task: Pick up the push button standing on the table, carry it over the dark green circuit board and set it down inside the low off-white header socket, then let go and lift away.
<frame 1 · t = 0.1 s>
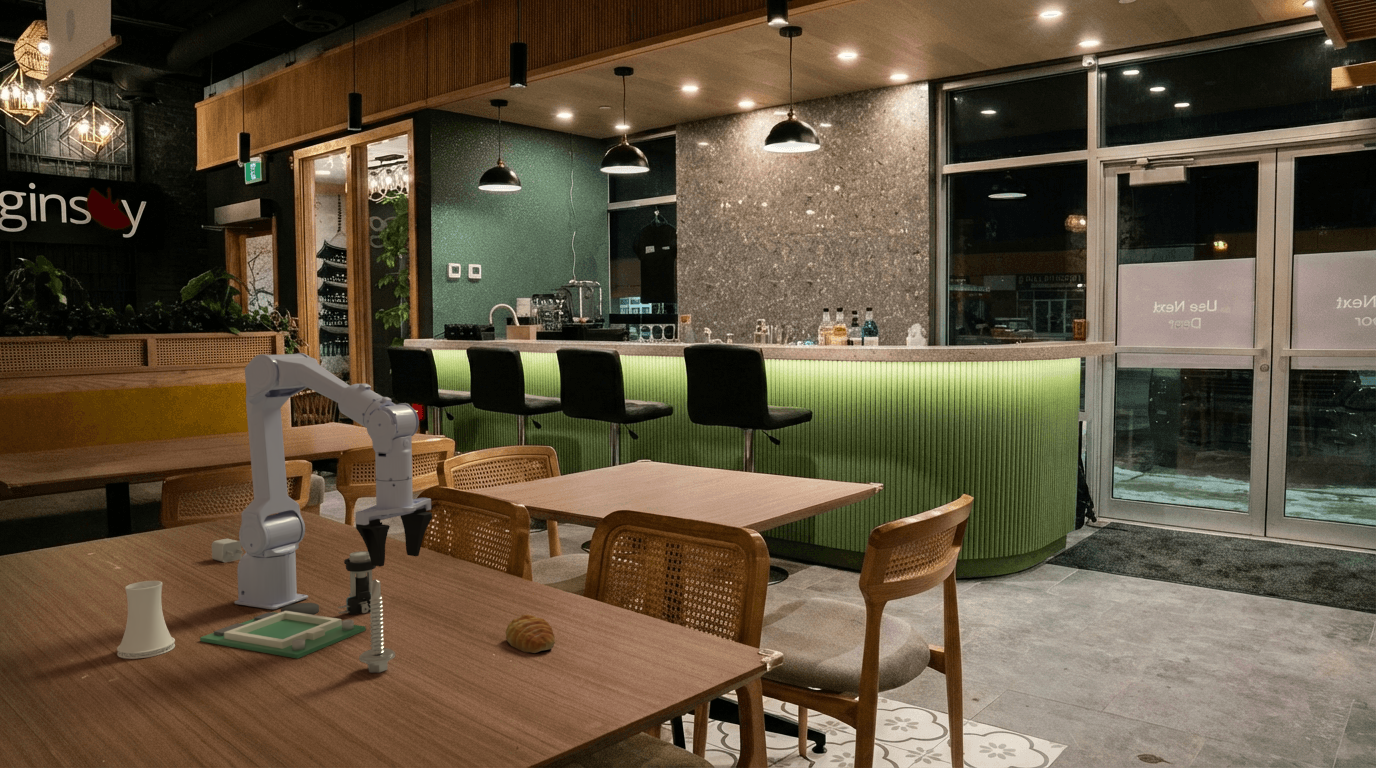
hand: (395, 560, 154), 10 cm above the table, tool pointing down, fingers open, 7 cm apart
circuit board: (284, 635, 147), on the table
pastry: (532, 645, 144), on the table
dark gray round disc: (300, 614, 159), on the table
screw: (377, 671, 132), on the table
usb wall charger: (230, 561, 196), on the table
cooling tower: (146, 651, 141), on the table
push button: (358, 613, 160), on the table
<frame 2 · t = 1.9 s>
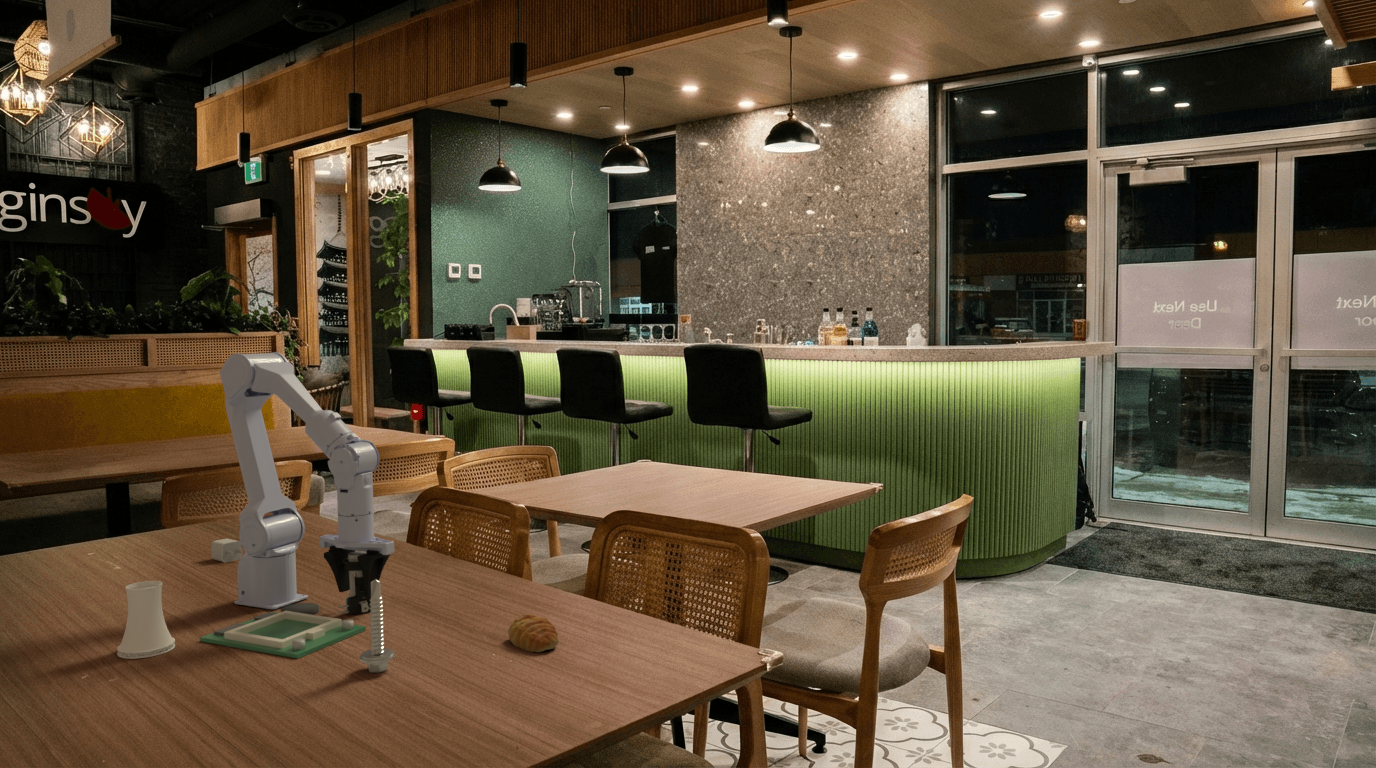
hand: (357, 592, 159), 3 cm above the table, tool pointing down, fingers closed on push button, 5 cm apart
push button: (358, 613, 160), on the table, touching gripper
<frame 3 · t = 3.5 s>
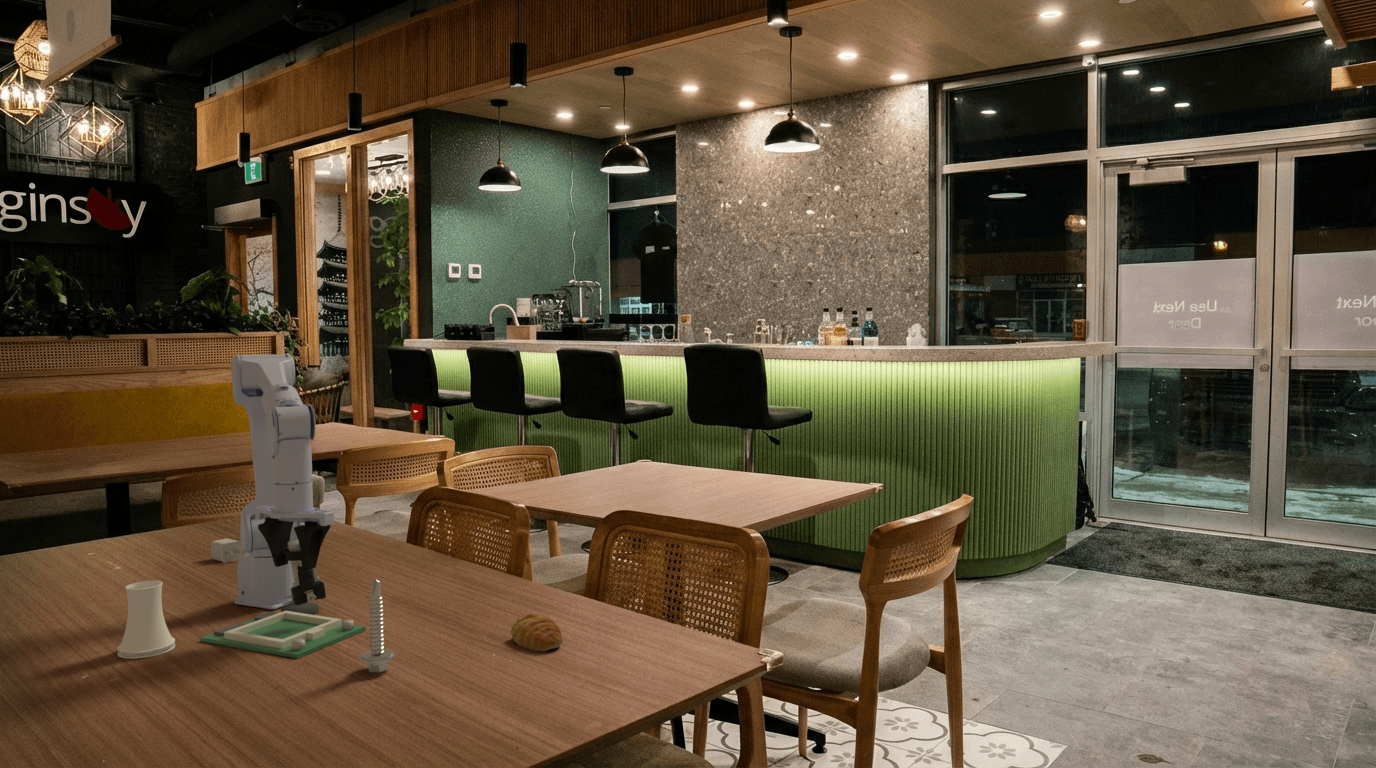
hand: (295, 567, 149), 10 cm above the table, tool pointing down, fingers closed on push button, 5 cm apart
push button: (305, 602, 151), point 4 cm above the table, touching gripper
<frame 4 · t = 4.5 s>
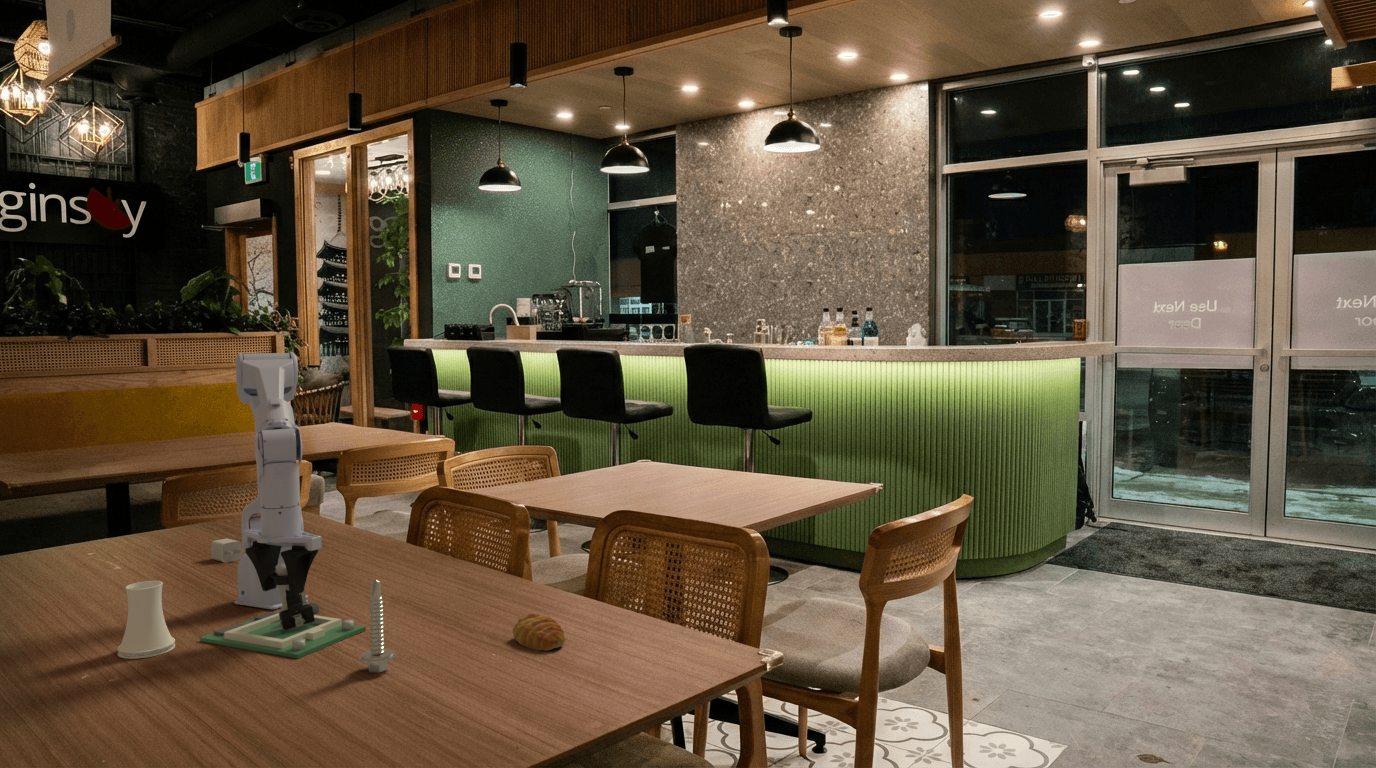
hand: (283, 591, 147), 7 cm above the table, tool pointing down, fingers closed on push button, 5 cm apart
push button: (293, 626, 149), point 1 cm above the table, touching circuit board, gripper
when the fingers open (5 cm above the table, at t = 5.4 s): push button stays where it is, resting on circuit board.
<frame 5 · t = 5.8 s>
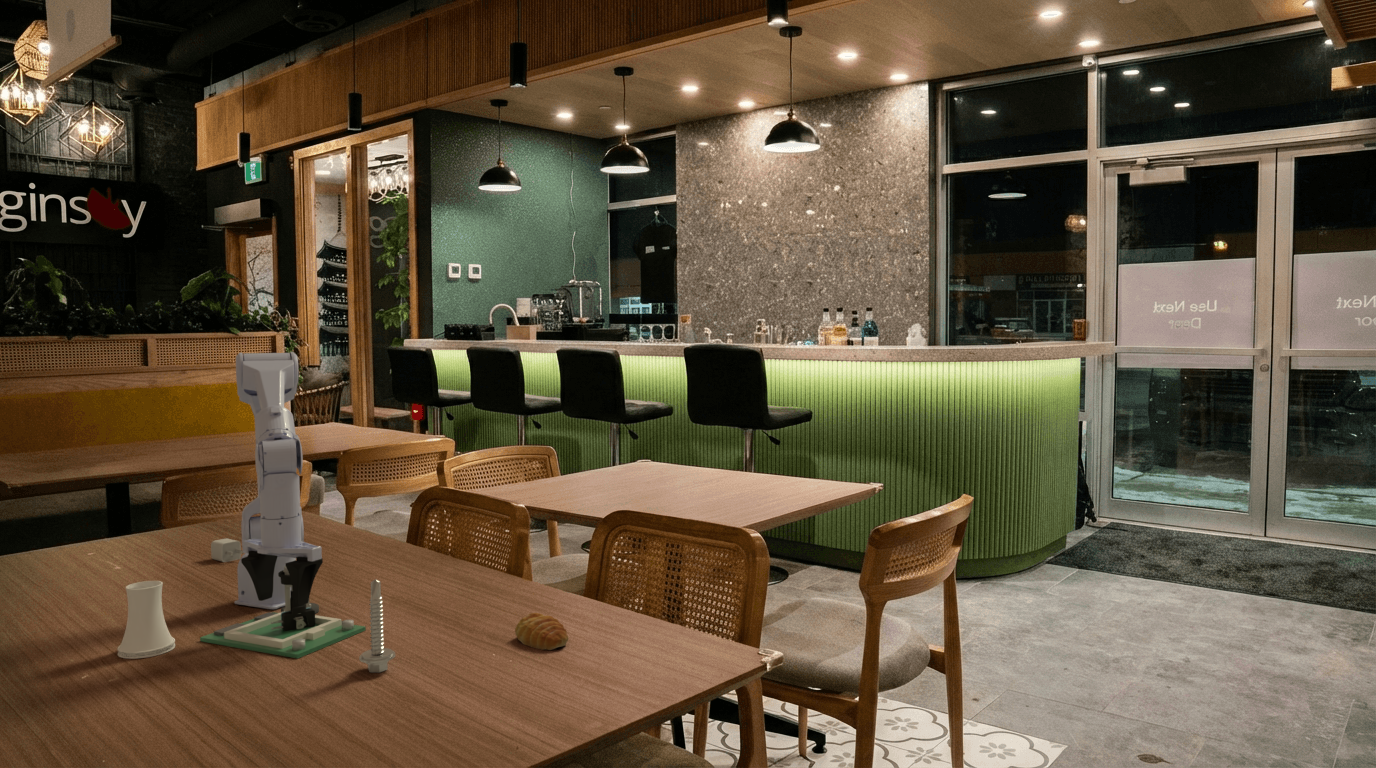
hand: (283, 601, 147), 5 cm above the table, tool pointing down, fingers open, 7 cm apart
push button: (293, 629, 149), resting on circuit board
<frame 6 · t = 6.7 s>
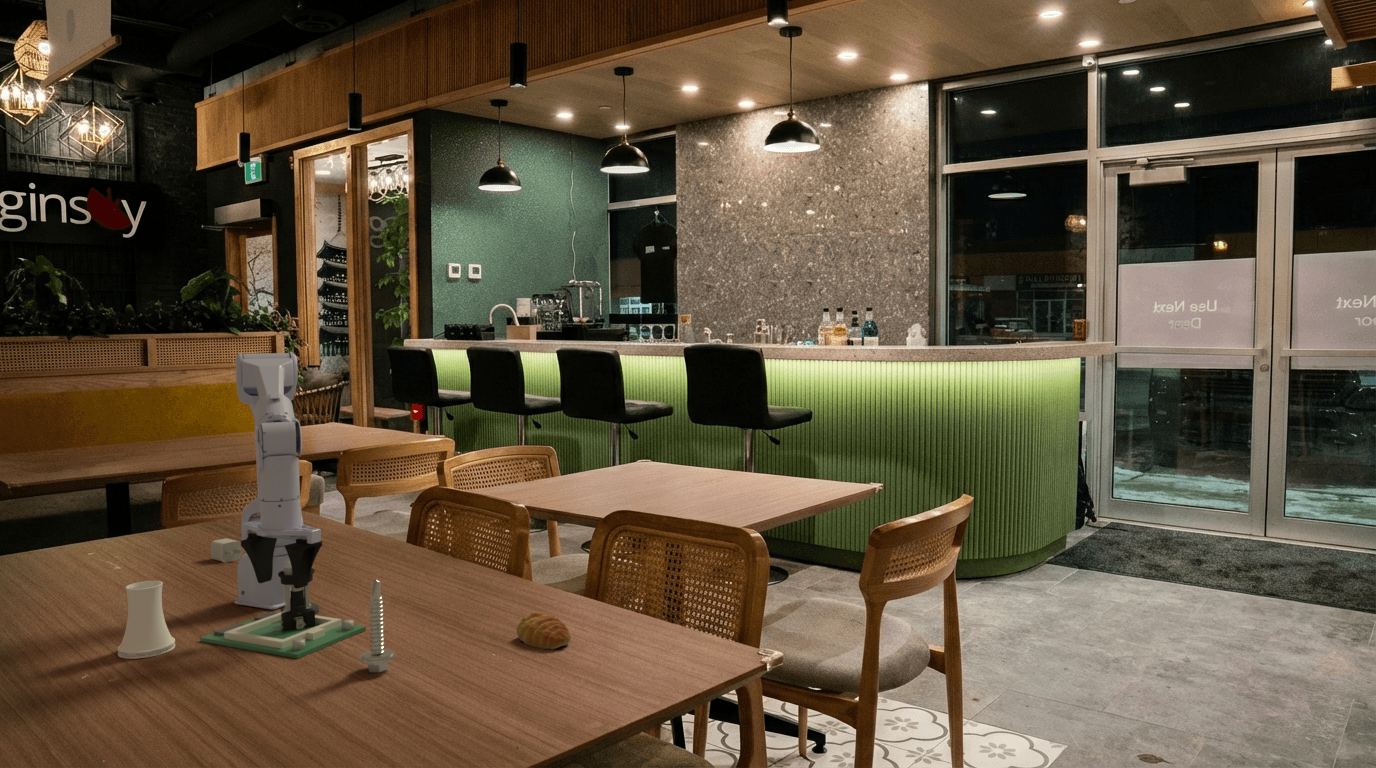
hand: (282, 584, 147), 8 cm above the table, tool pointing down, fingers open, 7 cm apart
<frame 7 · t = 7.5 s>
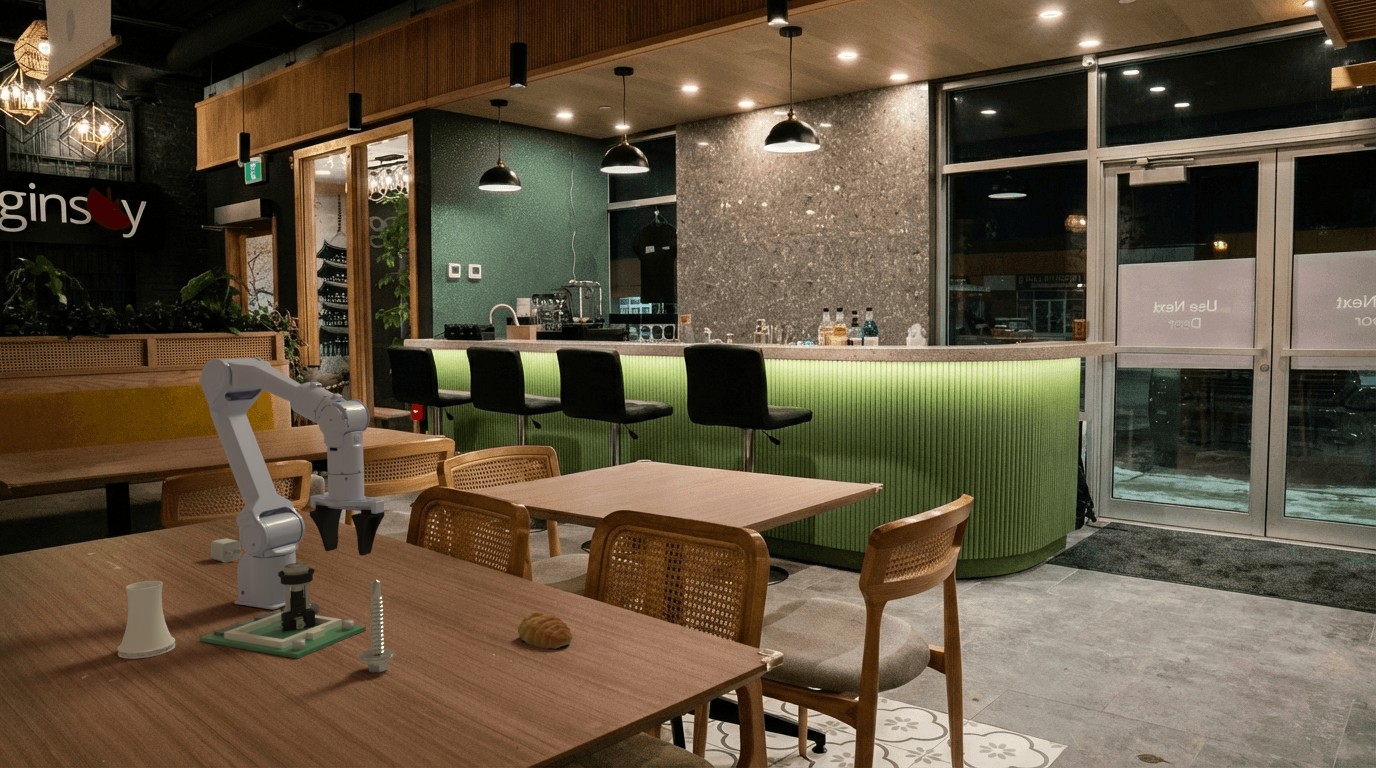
hand: (348, 552, 159), 10 cm above the table, tool pointing down, fingers open, 7 cm apart
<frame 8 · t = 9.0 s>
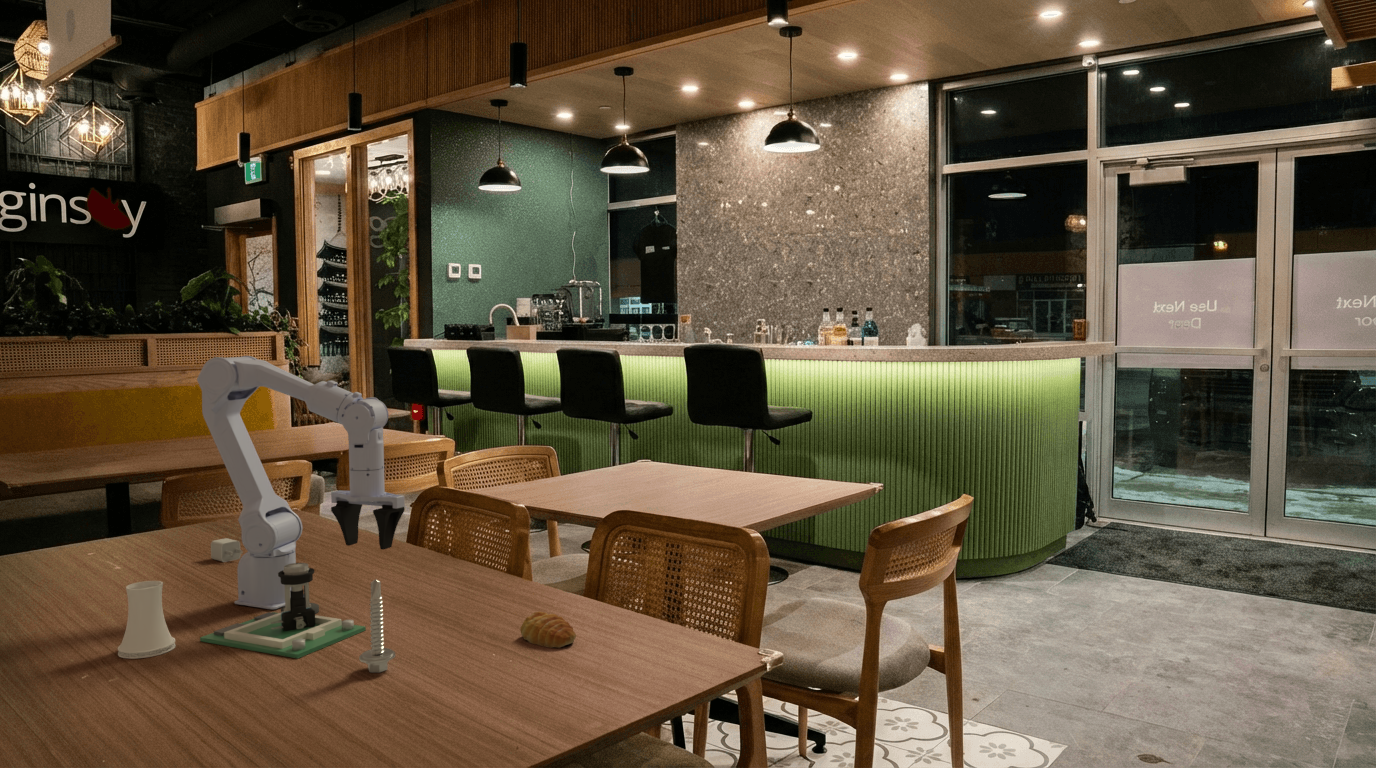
hand: (368, 546, 163), 10 cm above the table, tool pointing down, fingers open, 7 cm apart
at the end: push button 1.9 cm off-centre on the circuit board, point 0.4 cm above the circuit board's base; the gripper is holding nothing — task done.
